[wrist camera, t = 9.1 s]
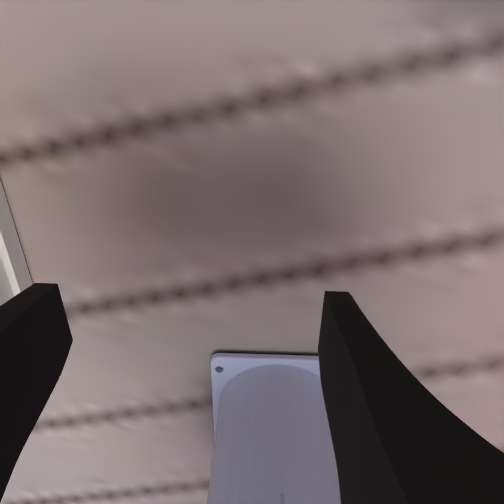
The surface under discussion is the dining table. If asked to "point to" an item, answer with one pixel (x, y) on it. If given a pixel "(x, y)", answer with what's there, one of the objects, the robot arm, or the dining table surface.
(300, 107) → the dining table surface
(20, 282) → the ledge
